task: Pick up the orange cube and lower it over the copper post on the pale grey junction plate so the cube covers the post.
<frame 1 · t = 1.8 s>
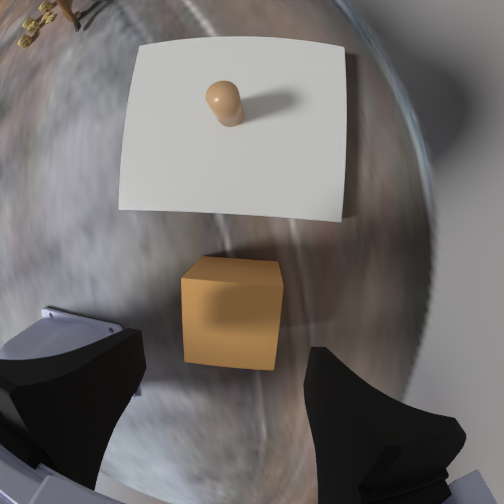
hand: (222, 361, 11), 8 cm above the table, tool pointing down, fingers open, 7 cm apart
orange cube: (238, 294, 19), on the table
dice set: (42, 26, 14), on the table
junction plate: (233, 121, 16), on the table
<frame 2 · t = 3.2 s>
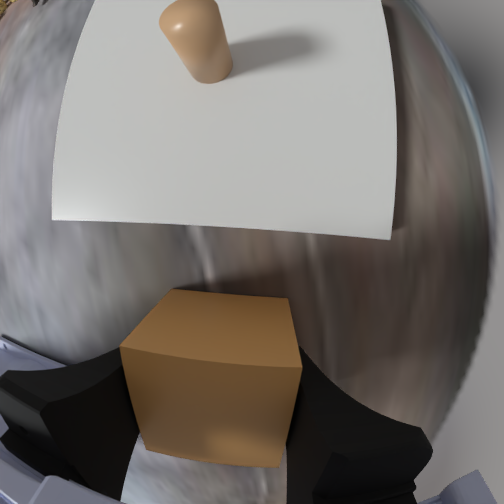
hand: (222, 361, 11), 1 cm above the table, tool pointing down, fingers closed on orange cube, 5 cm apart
orange cube: (226, 344, 12), on the table, touching gripper
dice set: (11, 6, 8), on the table
junction plate: (217, 80, 10), on the table
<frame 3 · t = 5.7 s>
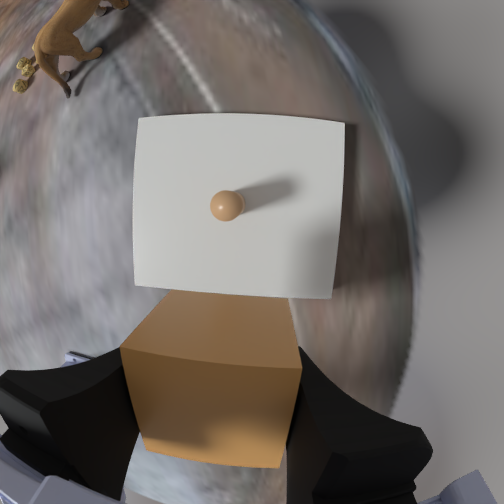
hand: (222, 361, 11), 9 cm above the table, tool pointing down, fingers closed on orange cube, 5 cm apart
orange cube: (226, 345, 12), point 8 cm above the table, touching gripper
lion figurine: (97, 31, 16), on the table
dice set: (37, 67, 17), on the table
junction plate: (235, 203, 19), on the table
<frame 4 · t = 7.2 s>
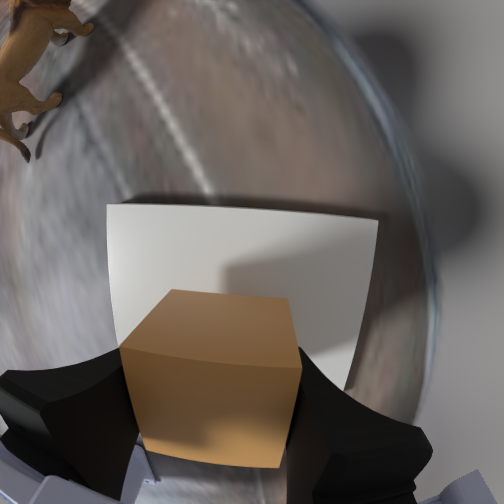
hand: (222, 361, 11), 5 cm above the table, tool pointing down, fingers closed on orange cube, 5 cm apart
orange cube: (226, 344, 12), point 4 cm above the table, touching gripper
lion figurine: (57, 66, 13), on the table
junction plate: (234, 313, 15), on the table
when the fingers open (4 cm above the table, at t = 8.4 s): orange cube stays where it is, resting on junction plate.
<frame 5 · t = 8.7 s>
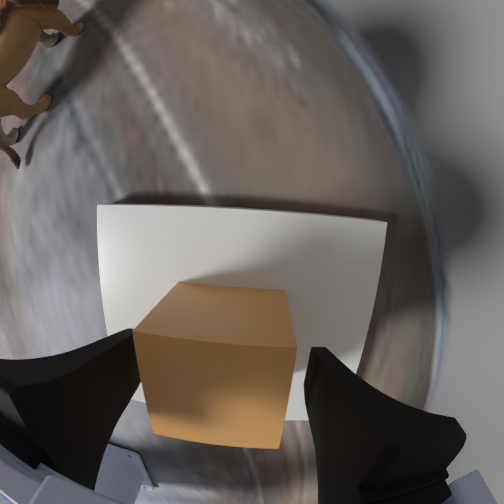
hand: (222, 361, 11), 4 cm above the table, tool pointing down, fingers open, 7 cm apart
orange cube: (229, 334, 13), point 1 cm above the table, touching junction plate
lion figurine: (47, 68, 12), on the table
junction plate: (232, 321, 14), on the table
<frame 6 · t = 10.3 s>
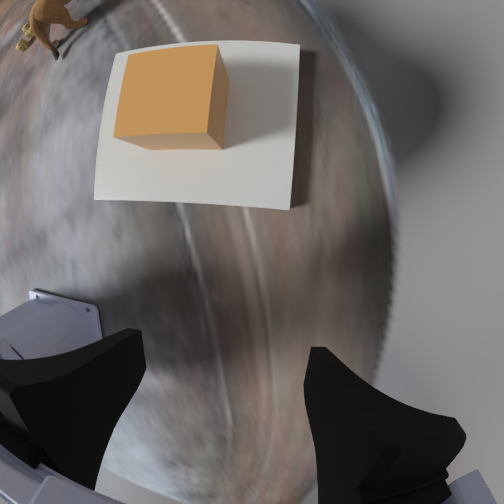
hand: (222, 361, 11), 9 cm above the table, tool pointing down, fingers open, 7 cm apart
orange cube: (188, 113, 16), point 1 cm above the table, touching junction plate
lion figurine: (85, 6, 15), on the table
dice set: (40, 30, 16), on the table
junction plate: (194, 119, 17), on the table
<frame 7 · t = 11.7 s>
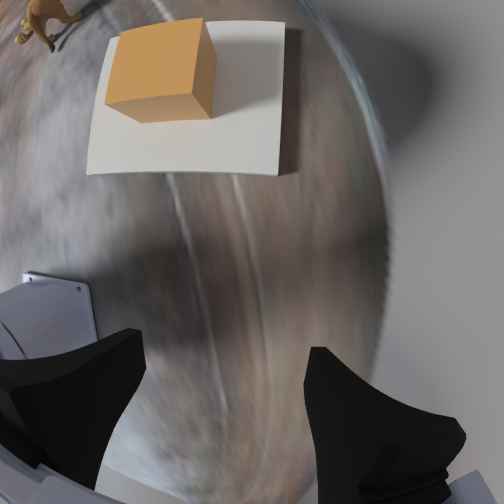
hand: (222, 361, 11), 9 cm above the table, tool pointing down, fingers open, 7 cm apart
orange cube: (178, 87, 16), point 1 cm above the table, touching junction plate
lion figurine: (79, 2, 15), on the table
dice set: (38, 24, 15), on the table
junction plate: (184, 94, 17), on the table
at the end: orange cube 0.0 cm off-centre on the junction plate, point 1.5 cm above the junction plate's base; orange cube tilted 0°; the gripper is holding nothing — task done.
